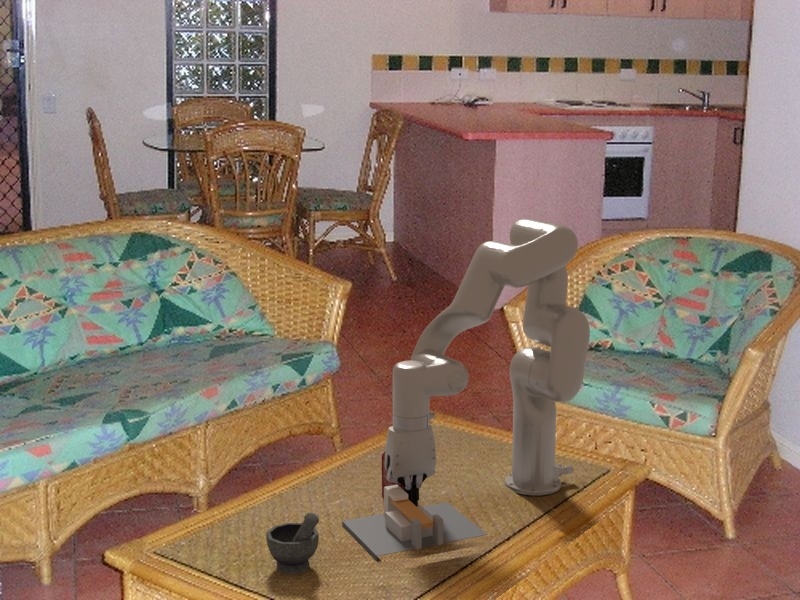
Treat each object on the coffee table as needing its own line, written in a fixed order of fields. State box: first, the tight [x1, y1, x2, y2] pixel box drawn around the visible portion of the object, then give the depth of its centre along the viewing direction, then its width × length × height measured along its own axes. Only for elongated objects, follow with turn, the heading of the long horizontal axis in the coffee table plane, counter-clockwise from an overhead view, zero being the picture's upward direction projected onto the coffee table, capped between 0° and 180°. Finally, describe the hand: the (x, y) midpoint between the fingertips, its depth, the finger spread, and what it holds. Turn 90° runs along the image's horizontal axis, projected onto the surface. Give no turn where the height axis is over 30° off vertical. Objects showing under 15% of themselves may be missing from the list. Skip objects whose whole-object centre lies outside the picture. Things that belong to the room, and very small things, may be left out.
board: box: [341, 501, 488, 563], centre depth 233 cm, size 24×18×6 cm
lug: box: [383, 485, 408, 514], centre depth 237 cm, size 3×6×6 cm, turn 24°
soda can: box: [381, 445, 412, 499], centre depth 249 cm, size 7×7×12 cm
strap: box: [390, 498, 434, 529], centre depth 231 cm, size 3×14×1 cm, turn 24°
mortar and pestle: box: [265, 512, 320, 575], centre depth 217 cm, size 11×9×12 cm
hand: (411, 504), depth 241 cm, fingers closed
